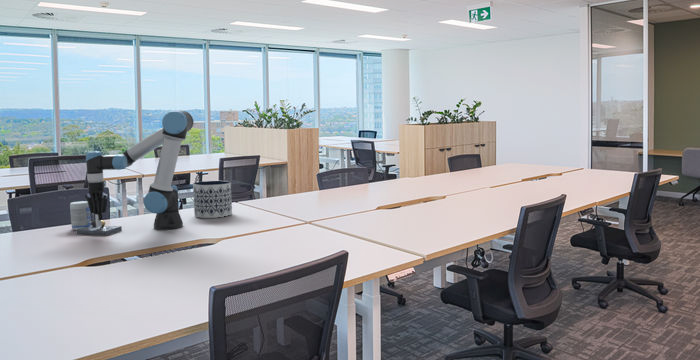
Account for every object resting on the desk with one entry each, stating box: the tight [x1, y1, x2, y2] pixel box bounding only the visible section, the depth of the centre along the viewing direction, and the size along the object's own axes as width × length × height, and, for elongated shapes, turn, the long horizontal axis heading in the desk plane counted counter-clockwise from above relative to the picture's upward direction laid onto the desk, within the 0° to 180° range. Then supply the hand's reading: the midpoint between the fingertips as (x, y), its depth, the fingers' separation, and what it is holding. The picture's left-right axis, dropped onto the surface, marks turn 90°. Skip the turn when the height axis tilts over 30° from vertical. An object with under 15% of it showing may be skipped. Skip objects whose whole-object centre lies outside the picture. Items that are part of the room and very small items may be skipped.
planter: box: [192, 180, 233, 219], centre depth 325 cm, size 22×22×20 cm
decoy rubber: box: [91, 219, 96, 226], centre depth 285 cm, size 3×3×3 cm
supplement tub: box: [69, 200, 92, 231], centre depth 290 cm, size 10×10×15 cm
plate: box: [75, 225, 123, 237], centre depth 280 cm, size 18×12×2 cm, turn 75°
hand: (99, 226), depth 278 cm, fingers closed
